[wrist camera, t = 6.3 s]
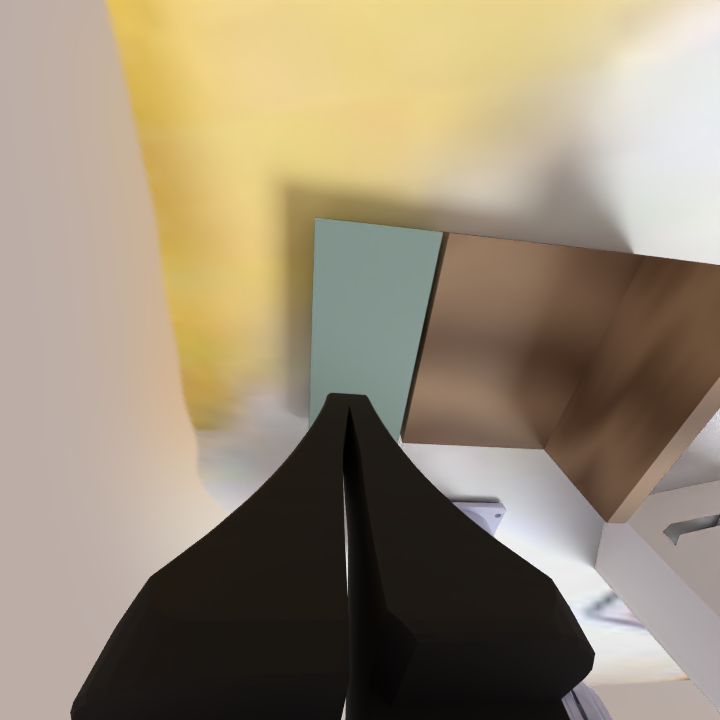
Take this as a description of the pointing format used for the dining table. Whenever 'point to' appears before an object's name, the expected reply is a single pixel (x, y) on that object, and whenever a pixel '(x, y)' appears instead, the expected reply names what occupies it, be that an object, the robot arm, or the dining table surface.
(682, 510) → the grater
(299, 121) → the dining table surface
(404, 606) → the robot arm
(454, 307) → the cart bed
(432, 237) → the panel
